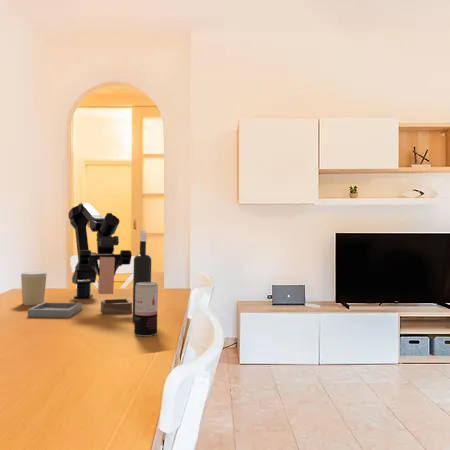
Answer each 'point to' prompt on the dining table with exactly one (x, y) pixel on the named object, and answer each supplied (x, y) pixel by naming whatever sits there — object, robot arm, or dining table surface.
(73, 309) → the grey square tray
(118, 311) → the walnut sleeve
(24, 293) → the coffee cup
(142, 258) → the wine bottle
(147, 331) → the beverage can
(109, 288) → the terracotta block
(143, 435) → the dining table surface
